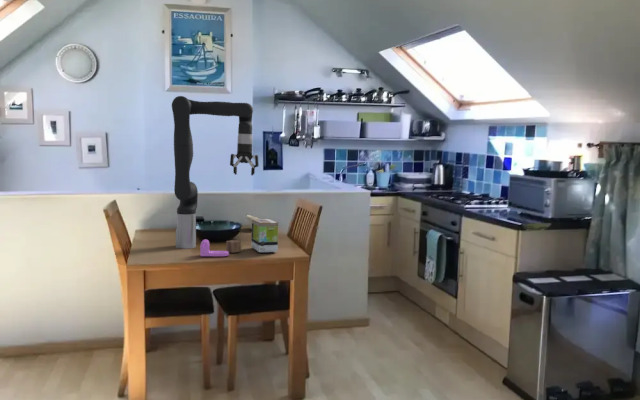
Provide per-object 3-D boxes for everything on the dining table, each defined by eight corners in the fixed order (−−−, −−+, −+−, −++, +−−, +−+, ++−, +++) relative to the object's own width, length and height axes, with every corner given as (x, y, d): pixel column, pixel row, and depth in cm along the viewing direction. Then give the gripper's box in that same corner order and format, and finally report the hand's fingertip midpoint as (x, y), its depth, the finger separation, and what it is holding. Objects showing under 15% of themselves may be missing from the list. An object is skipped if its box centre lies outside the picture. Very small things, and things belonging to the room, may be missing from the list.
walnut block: (234, 249, 268) (226, 251, 264) (234, 240, 267) (226, 241, 264) (240, 251, 264) (231, 252, 261) (240, 241, 264) (232, 242, 260)
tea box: (278, 251, 265) (278, 222, 263) (258, 253, 261) (258, 222, 260) (269, 246, 279) (270, 218, 277) (250, 247, 275) (251, 218, 274)
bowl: (270, 233, 320) (270, 216, 319) (246, 233, 318) (246, 216, 317) (268, 229, 335) (269, 213, 334) (246, 229, 333) (246, 213, 332)
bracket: (200, 256, 251) (200, 241, 251) (201, 253, 257) (201, 239, 256) (228, 256, 253) (228, 241, 252) (229, 253, 258) (229, 239, 258)
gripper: (229, 142, 270) (228, 174, 272) (257, 143, 270) (256, 176, 271) (232, 142, 278) (231, 173, 280) (260, 143, 277) (259, 175, 279)
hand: (244, 174), depth 275 cm, fingers open, 8 cm apart
